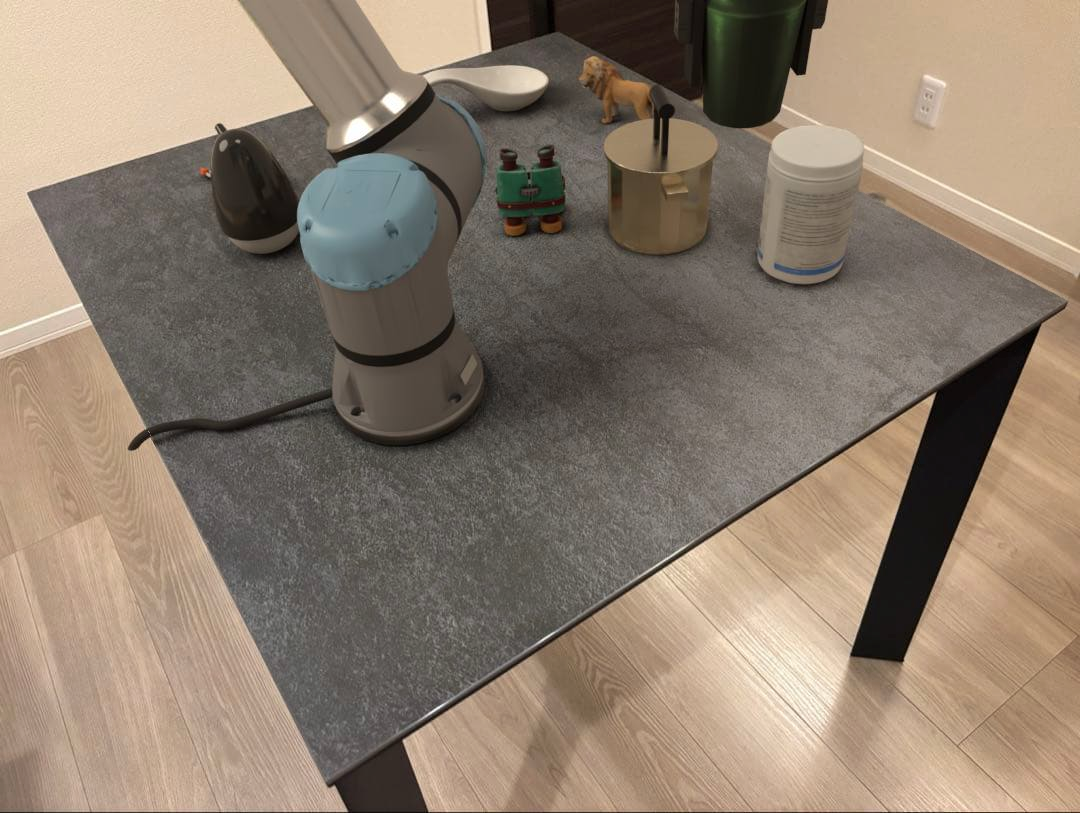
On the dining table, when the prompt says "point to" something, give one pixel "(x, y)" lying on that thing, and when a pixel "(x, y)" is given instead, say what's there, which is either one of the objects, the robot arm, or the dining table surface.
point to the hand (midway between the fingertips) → (743, 73)
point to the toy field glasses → (530, 191)
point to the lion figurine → (615, 89)
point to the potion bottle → (747, 59)
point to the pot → (658, 210)
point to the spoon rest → (496, 84)
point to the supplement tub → (809, 202)
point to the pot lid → (660, 143)
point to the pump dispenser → (252, 193)
